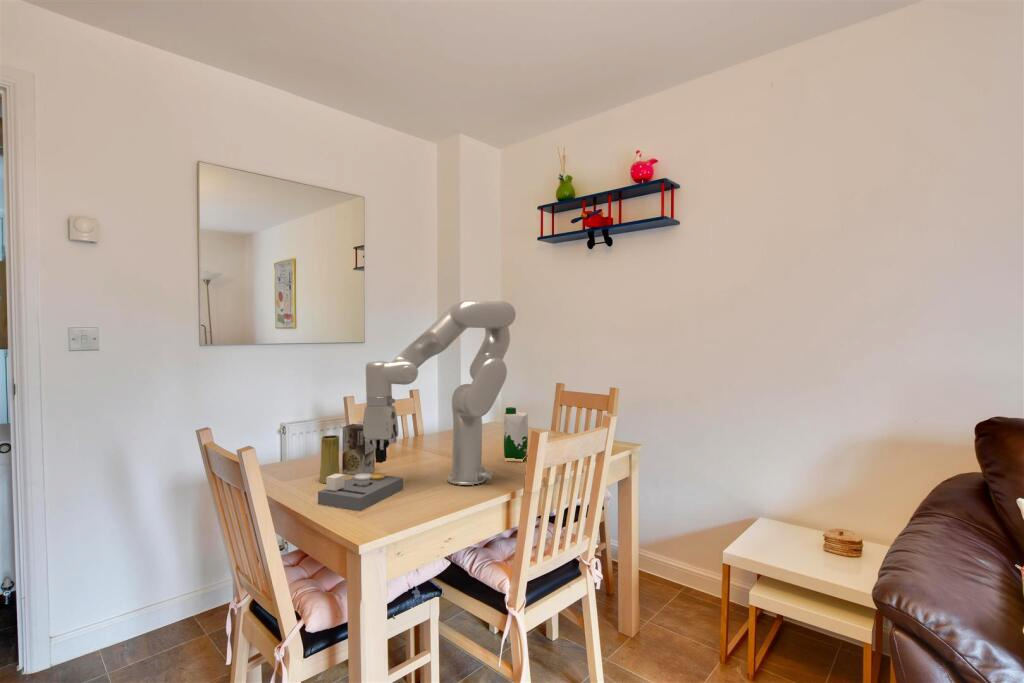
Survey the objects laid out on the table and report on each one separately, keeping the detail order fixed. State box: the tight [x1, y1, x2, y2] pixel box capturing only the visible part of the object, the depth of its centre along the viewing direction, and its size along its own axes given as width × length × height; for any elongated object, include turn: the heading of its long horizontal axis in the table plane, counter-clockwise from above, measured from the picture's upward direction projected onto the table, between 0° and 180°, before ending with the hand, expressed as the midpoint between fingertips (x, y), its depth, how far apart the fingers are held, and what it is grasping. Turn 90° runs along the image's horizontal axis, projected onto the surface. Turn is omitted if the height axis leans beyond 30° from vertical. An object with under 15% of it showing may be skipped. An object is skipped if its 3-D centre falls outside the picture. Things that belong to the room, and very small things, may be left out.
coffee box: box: [341, 423, 375, 476], centre depth 170 cm, size 9×6×16 cm
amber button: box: [371, 472, 386, 481], centre depth 152 cm, size 5×5×3 cm
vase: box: [319, 434, 340, 484], centre depth 159 cm, size 6×6×14 cm
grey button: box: [353, 473, 372, 487], centre depth 145 cm, size 5×5×3 cm
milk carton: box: [503, 406, 529, 459], centre depth 192 cm, size 9×9×20 cm
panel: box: [317, 473, 404, 512], centre depth 145 cm, size 14×21×4 cm, turn 160°
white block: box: [325, 473, 346, 491], centre depth 140 cm, size 3×4×6 cm
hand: (381, 461), depth 152 cm, fingers closed
